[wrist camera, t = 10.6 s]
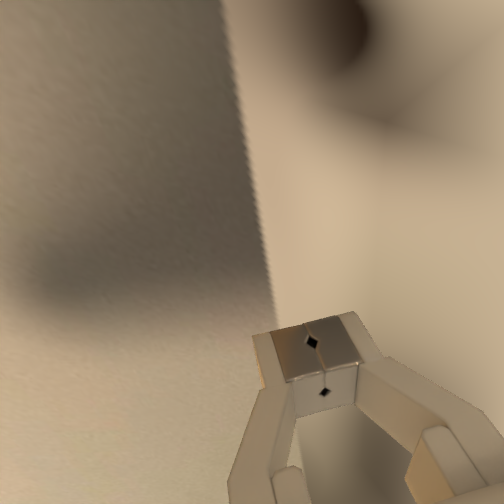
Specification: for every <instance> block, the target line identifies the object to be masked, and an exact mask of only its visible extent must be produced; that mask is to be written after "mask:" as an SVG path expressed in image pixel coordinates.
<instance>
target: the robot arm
mask: <svg viewBox="0 0 504 504" xmlns="http://www.w3.org/2000/svg"><path fill="white" fill-rule="evenodd" d="M252 340H253V345H254V351H255V356H256V361H257V366H258V370H259V375H260V379H261V384H262V388H263V389H261V390H259V393H258V396H257V399H256V401H255V404H254V407H253V410H252V413H251V416H250V418H249V421H248V424H247V427H246V430H245V432H244V435H243V438H242V441H241V444H240V447H239V449H238V452H237V455H236V458H235V461H234V463H233V466H232V469H231V472H230V475H229V477H228V480H227V486H228V494H229V503H230V504H312V503H311V499H310V496H309V492H308V489H307V486H306V482H305V479H304V476H303V472H302V470H301V469H299V468H298V467H296V466H294V465H292V466H289V467H286V466H287V461H288V457H289V452H290V447H291V443H292V438H293V433H294V429H295V424H296V419H297V418H301V417H304V416H307V415H311V414H314V413H317V412H321V411H324V410H328V409H332V408H336V407H341V406H345V405H349V404H353V403H355V406H356V407H358V408H359V409H360V410H362V412H363V413H365V414H366V415H367V416H368V417H369V418H371V419H372V420H373V421H374V422H375V423H376V424H378V425H379V426H380V427H381V428H383V429H384V430H385V431H386V432H387V433H388V434H389V435H390V436H392V437H393V438H394V439H395V440H396V441H398V442H399V443H400V444H401V445H402V446H403V447H405V448H406V449H407V450H408V451H409V452H410V453H412V454H413V457H412V459H411V462H410V465H409V467H408V470H407V473H406V476H405V481H406V483H407V485H408V488H409V490H410V492H411V494H412V495H413V498H414V500H415V501H416V504H504V438H503V437H502V435H501V434H500V433H499V431H498V430H497V429H496V428H495V426H494V425H493V424H492V423H491V421H490V420H489V419H488V417H487V416H486V415H485V414H484V412H483V411H482V410H480V409H478V408H476V407H475V406H473V405H471V404H470V403H468V402H466V401H465V400H463V399H461V398H459V397H458V396H456V395H454V394H452V393H451V392H449V391H447V390H446V389H444V388H442V387H440V386H439V385H437V384H436V383H434V382H432V381H430V380H429V379H427V378H425V377H424V376H422V375H420V374H418V373H417V372H415V371H413V370H412V369H410V368H408V367H407V366H405V365H403V364H401V363H400V362H398V361H396V360H395V359H393V358H391V357H385V358H384V357H383V355H382V353H381V352H380V350H379V349H378V347H377V345H376V344H375V342H374V341H373V339H372V337H371V336H370V334H369V333H368V331H367V329H366V328H365V326H364V325H363V323H362V321H361V320H360V318H359V317H358V315H357V314H356V313H355V312H354V311H352V312H348V313H344V314H340V315H336V316H335V315H334V316H330V317H326V318H323V319H319V320H315V321H311V322H307V323H303V324H302V325H297V326H293V327H288V328H284V329H279V330H274V331H270V332H265V333H261V334H257V335H253V336H252Z"/></svg>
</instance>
